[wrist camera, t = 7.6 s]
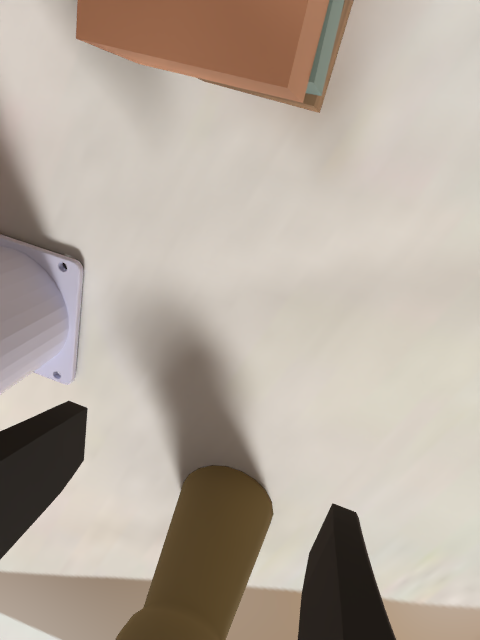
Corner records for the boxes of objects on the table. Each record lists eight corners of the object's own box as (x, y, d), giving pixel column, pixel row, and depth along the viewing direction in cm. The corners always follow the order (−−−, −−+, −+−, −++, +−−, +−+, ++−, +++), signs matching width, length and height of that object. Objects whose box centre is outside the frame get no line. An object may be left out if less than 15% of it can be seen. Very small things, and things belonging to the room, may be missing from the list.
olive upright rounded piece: (196, 450, 25) (94, 648, 15) (288, 493, 24) (245, 727, 14) (171, 512, 27) (71, 715, 18) (253, 552, 27) (197, 784, 17)
